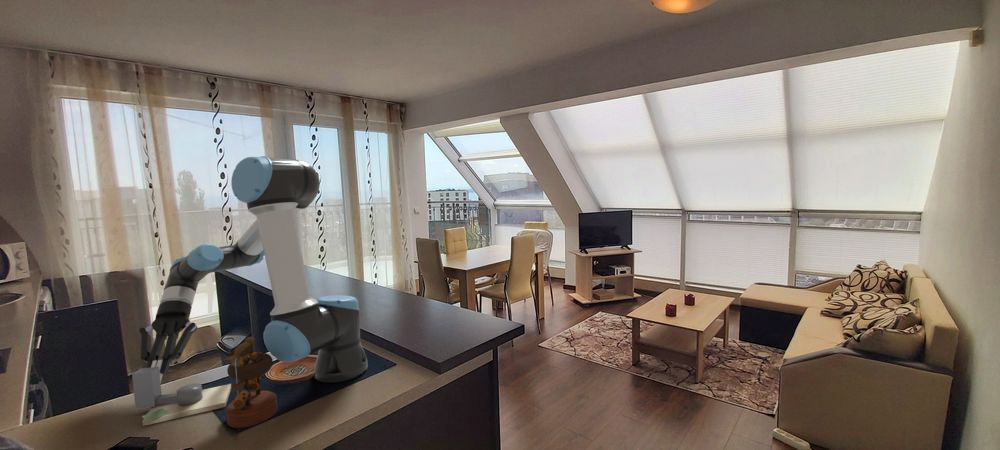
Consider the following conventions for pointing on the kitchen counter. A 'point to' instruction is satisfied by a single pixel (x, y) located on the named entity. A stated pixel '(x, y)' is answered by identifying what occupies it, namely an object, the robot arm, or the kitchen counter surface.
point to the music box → (249, 386)
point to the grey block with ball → (150, 390)
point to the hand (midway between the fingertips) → (152, 386)
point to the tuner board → (189, 406)
